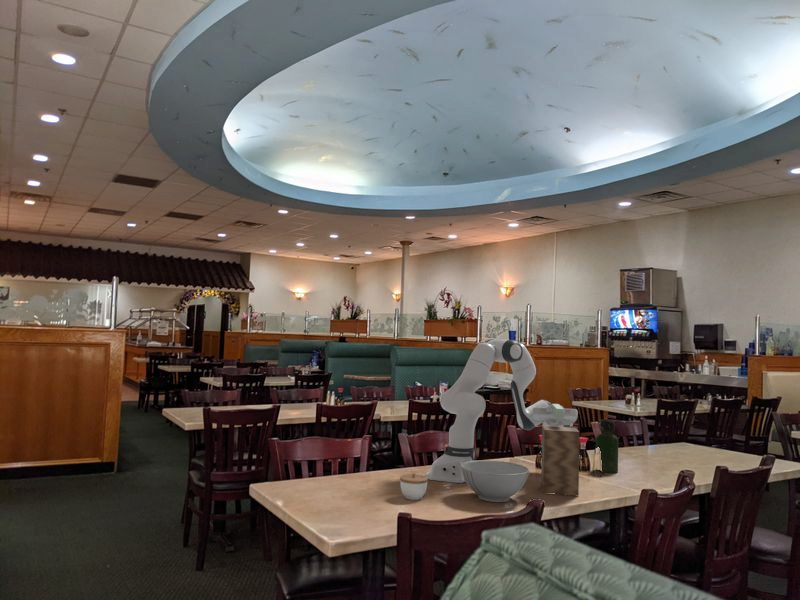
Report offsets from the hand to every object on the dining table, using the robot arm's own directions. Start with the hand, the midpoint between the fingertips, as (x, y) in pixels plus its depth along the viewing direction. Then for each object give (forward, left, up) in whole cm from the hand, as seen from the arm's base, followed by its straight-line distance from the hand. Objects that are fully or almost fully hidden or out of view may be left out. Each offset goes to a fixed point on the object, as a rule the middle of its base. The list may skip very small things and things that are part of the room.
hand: (556, 407), depth 277 cm
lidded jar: (-58, -48, -33) cm, 82 cm away
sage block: (0, -7, -3) cm, 7 cm away
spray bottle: (+28, +31, -33) cm, 54 cm away
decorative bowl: (-27, -39, -33) cm, 58 cm away
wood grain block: (0, -20, -33) cm, 38 cm away
